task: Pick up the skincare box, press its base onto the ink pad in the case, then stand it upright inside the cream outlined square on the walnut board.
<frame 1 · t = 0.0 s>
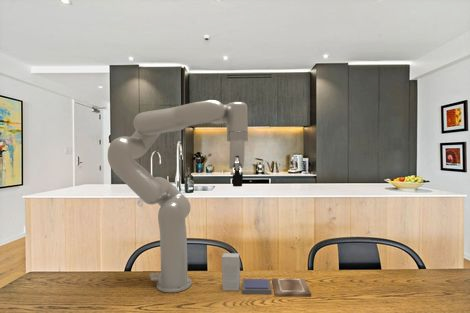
hand: (238, 184, 112), 37 cm above the table, tool pointing down, fingers open, 9 cm apart
marked board: (290, 288, 110), on the table
ink pad: (256, 288, 111), on the table
skincare box: (231, 288, 111), on the table
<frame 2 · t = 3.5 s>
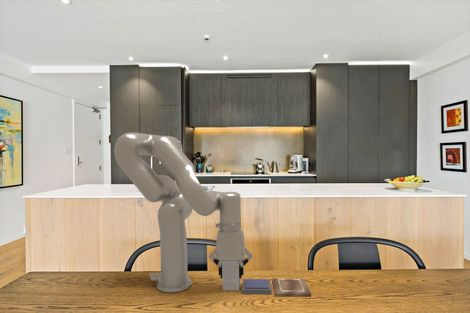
hand: (231, 276, 111), 4 cm above the table, tool pointing down, fingers closed on skincare box, 6 cm apart
skincare box: (231, 288, 111), on the table, touching gripper
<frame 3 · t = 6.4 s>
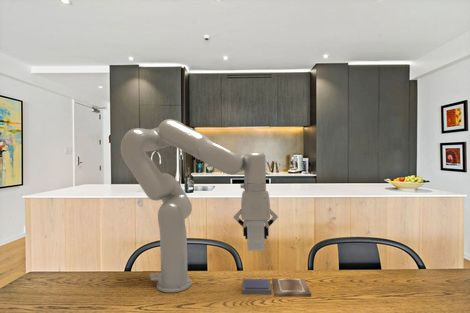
hand: (255, 237, 110), 18 cm above the table, tool pointing down, fingers closed on skincare box, 6 cm apart
skincare box: (256, 249, 110), point 14 cm above the table, touching gripper
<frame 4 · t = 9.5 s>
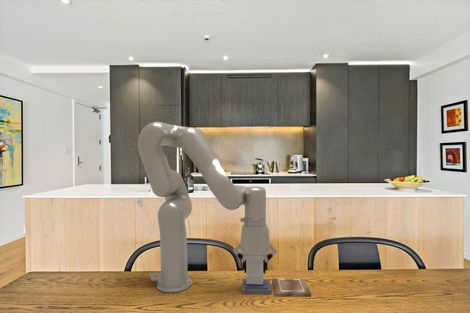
hand: (254, 271, 111), 6 cm above the table, tool pointing down, fingers closed on skincare box, 6 cm apart
skincare box: (254, 282, 111), point 2 cm above the table, touching gripper
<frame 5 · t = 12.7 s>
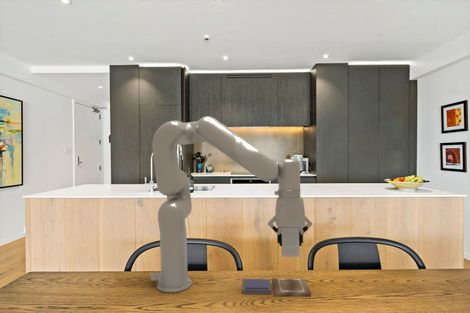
hand: (290, 244, 110), 16 cm above the table, tool pointing down, fingers closed on skincare box, 6 cm apart
skincare box: (290, 255, 110), point 12 cm above the table, touching gripper
when the fingers open (6 cm above the table, at t = 15.6 s): skincare box drops 1 cm, resting on marked board.
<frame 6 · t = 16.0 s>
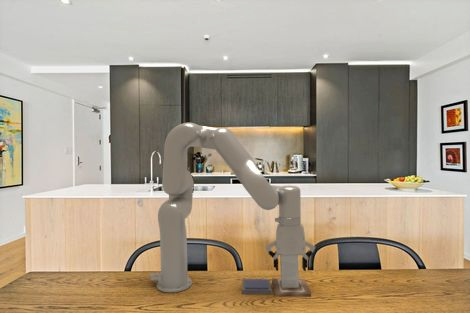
hand: (290, 269, 110), 7 cm above the table, tool pointing down, fingers open, 9 cm apart
skincare box: (289, 286, 110), point 1 cm above the table, touching marked board
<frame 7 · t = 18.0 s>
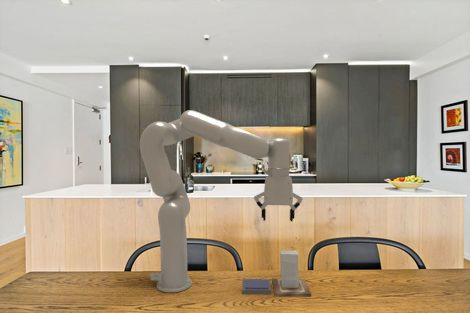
hand: (277, 220, 112), 24 cm above the table, tool pointing down, fingers open, 9 cm apart
nothing on the table moved.
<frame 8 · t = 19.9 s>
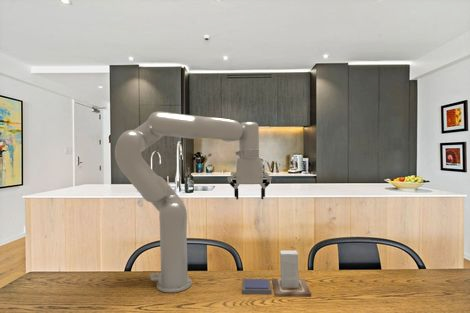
hand: (249, 198, 120), 30 cm above the table, tool pointing down, fingers open, 9 cm apart
nothing on the table moved.
at the end: skincare box 0.4 cm off-centre on the marked board, point 0.8 cm above the marked board's base; skincare box tilted 0°; the gripper is holding nothing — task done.
